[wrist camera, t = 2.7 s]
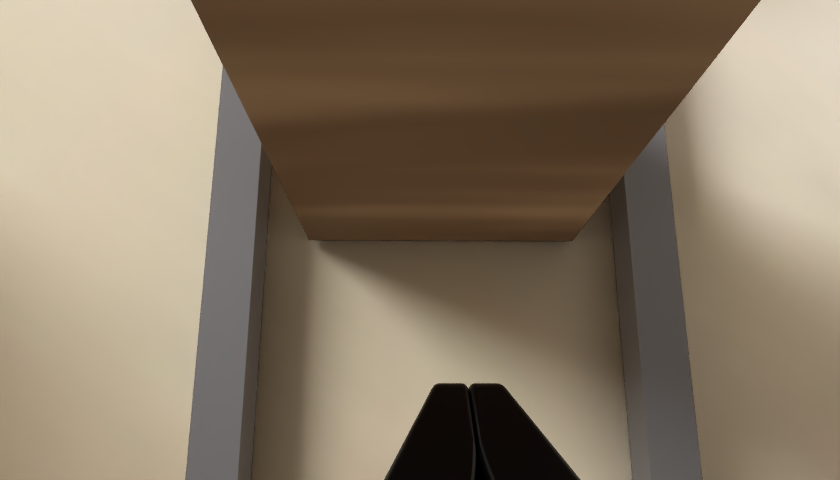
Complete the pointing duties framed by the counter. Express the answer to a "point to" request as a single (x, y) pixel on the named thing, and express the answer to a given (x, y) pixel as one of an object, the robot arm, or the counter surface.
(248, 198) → the twin grey rails
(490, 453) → the robot arm
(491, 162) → the brown wooden tall block
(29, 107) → the counter surface
